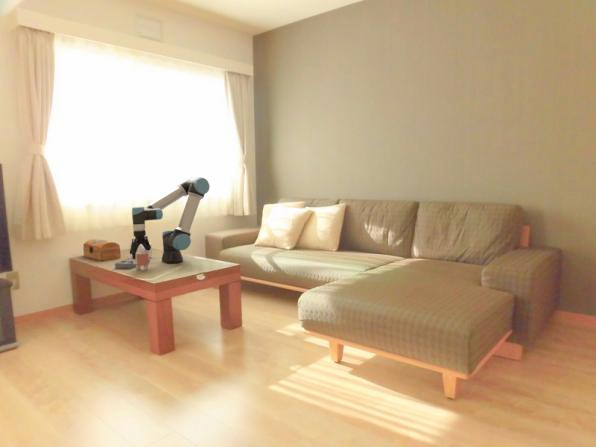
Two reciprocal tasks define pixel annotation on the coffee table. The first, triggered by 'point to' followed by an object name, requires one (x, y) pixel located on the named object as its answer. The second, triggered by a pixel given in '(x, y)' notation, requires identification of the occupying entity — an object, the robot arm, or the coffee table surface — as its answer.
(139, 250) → the cable organizer
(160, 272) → the coffee table surface
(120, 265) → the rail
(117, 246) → the wooden box
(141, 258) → the clip
